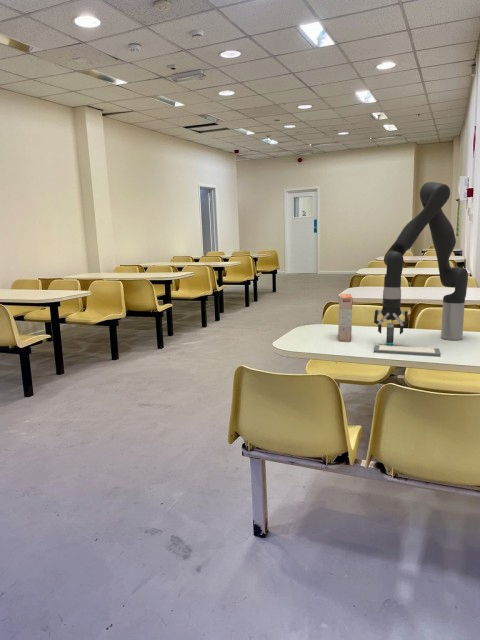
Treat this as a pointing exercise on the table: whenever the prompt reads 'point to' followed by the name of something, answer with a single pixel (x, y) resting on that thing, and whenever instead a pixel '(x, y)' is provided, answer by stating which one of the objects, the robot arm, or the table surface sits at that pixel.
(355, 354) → the table surface
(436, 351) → the drawing board
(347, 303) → the cracker box
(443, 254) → the robot arm
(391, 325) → the marker
